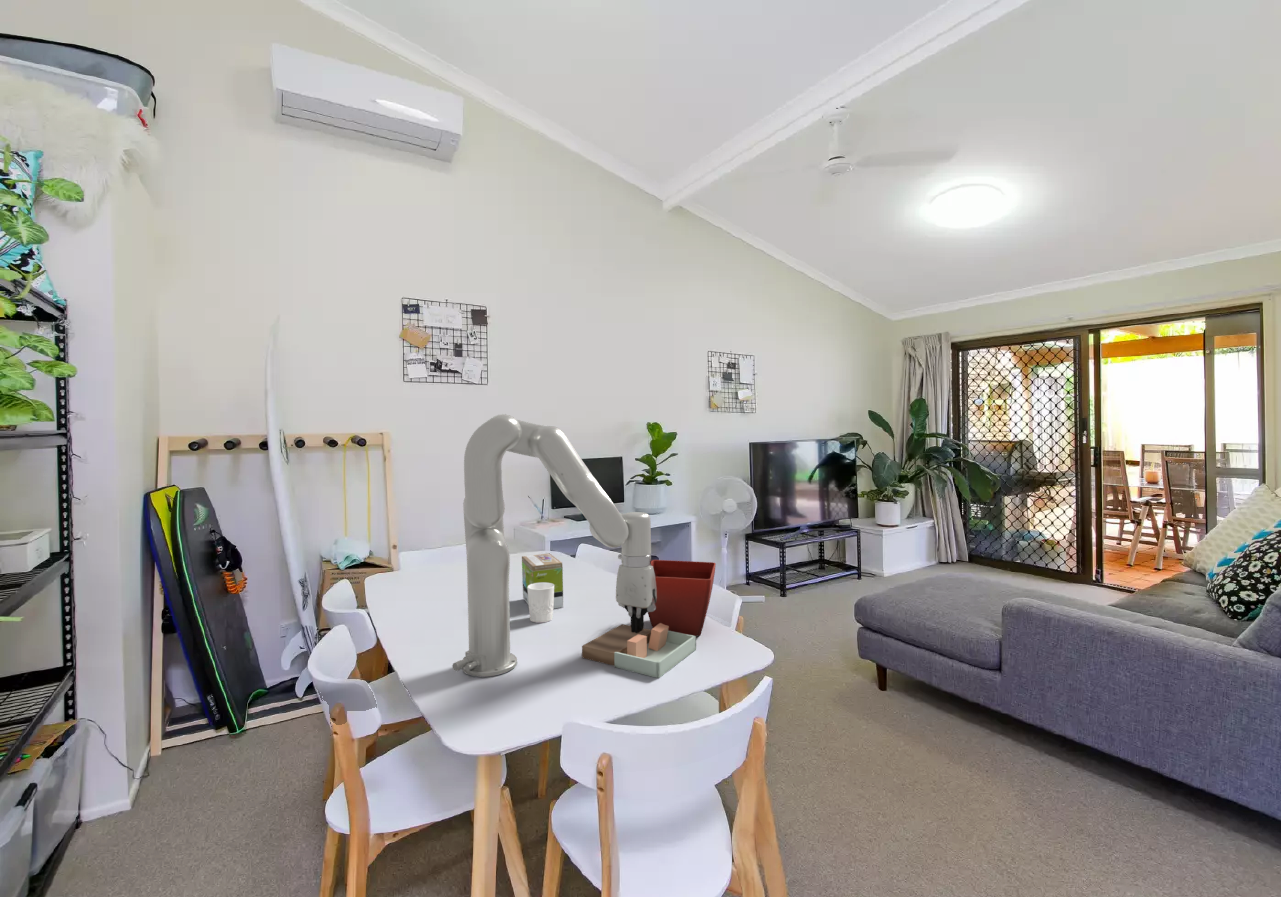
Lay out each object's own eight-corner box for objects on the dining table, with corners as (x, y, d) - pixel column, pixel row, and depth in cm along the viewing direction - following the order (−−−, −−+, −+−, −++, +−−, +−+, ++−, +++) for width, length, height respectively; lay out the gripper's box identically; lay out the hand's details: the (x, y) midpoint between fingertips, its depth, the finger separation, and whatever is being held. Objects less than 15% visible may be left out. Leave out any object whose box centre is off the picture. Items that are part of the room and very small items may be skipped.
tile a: (627, 661, 136) (636, 663, 135) (627, 640, 136) (636, 642, 135) (638, 654, 140) (646, 656, 139) (637, 634, 140) (646, 636, 139)
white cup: (522, 621, 167) (521, 587, 167) (539, 613, 174) (538, 581, 174) (543, 625, 164) (543, 590, 163) (560, 617, 171) (559, 584, 170)
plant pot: (711, 642, 150) (710, 578, 149) (640, 637, 153) (639, 575, 153) (716, 618, 168) (716, 562, 168) (652, 615, 172) (652, 559, 171)
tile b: (648, 647, 143) (657, 651, 142) (651, 629, 143) (660, 632, 142) (656, 641, 148) (665, 644, 147) (660, 623, 147) (668, 626, 146)
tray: (658, 678, 128) (658, 663, 128) (614, 667, 134) (614, 652, 134) (696, 649, 144) (695, 636, 144) (655, 641, 151) (654, 627, 151)
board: (615, 666, 135) (615, 653, 135) (582, 657, 140) (581, 645, 140) (653, 641, 150) (653, 630, 150) (622, 635, 155) (622, 624, 155)
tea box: (521, 599, 189) (520, 555, 189) (551, 595, 193) (550, 552, 193) (533, 612, 176) (532, 564, 175) (564, 607, 180) (563, 561, 179)
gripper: (604, 560, 147) (605, 630, 148) (654, 567, 139) (655, 641, 140) (619, 554, 153) (620, 622, 154) (668, 560, 146) (669, 631, 146)
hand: (637, 631), depth 147 cm, fingers closed
